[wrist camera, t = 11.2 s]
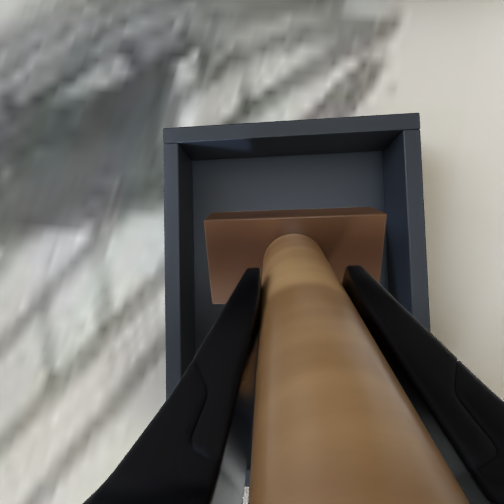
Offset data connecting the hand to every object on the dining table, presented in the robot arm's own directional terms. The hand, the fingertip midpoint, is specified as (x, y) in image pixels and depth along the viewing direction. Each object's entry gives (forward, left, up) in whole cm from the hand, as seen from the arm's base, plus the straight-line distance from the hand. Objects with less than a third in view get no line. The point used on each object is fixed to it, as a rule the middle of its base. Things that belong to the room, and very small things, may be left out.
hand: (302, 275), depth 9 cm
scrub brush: (+1, +1, -6) cm, 6 cm away
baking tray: (-1, -1, -8) cm, 8 cm away
